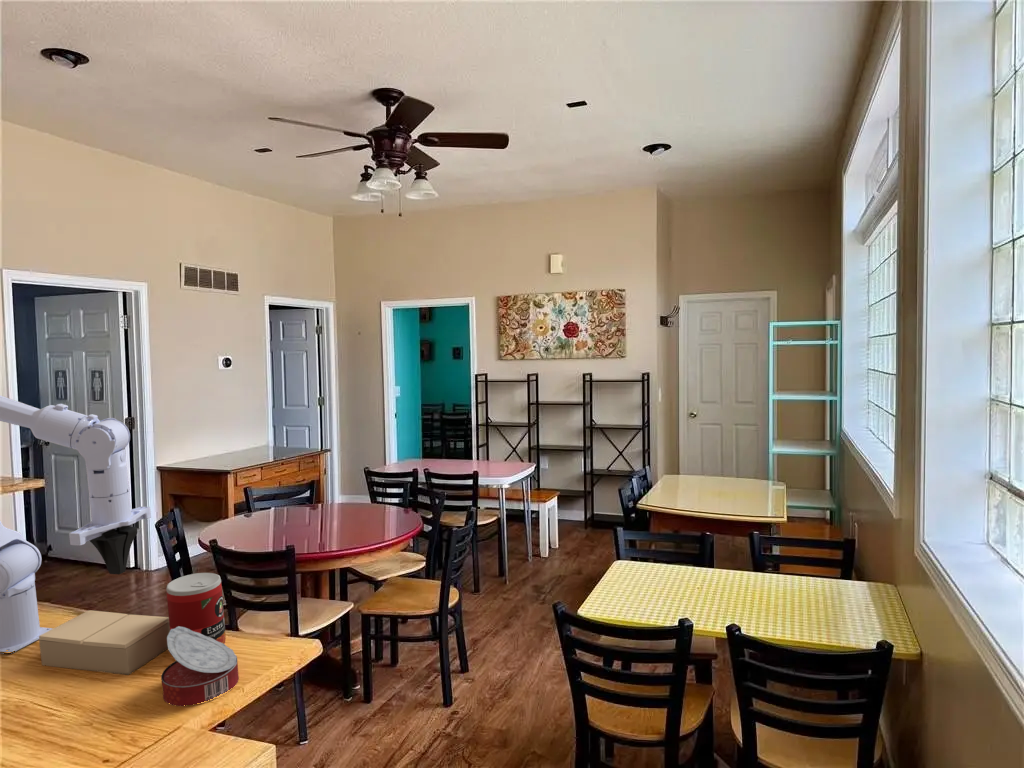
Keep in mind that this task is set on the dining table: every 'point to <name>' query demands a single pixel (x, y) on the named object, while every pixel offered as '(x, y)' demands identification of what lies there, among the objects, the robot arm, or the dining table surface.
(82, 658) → the carton
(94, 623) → the flap
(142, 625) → the flap
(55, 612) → the dining table surface
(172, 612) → the canned food
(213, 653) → the canned food
